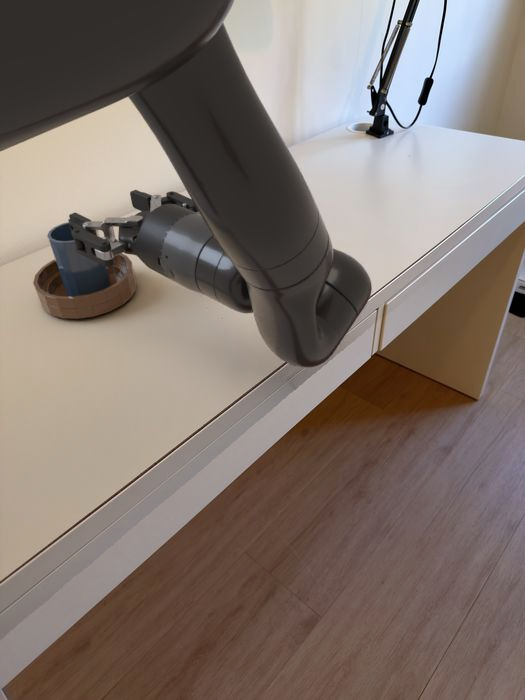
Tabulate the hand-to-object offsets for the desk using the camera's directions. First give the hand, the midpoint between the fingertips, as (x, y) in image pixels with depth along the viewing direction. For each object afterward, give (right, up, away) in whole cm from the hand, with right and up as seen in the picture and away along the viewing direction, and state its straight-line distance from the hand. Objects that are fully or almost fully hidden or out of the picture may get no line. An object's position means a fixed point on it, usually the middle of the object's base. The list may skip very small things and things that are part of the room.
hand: (104, 209), depth 64 cm
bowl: (-7, -9, +17) cm, 20 cm away
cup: (-7, -8, +16) cm, 20 cm away
